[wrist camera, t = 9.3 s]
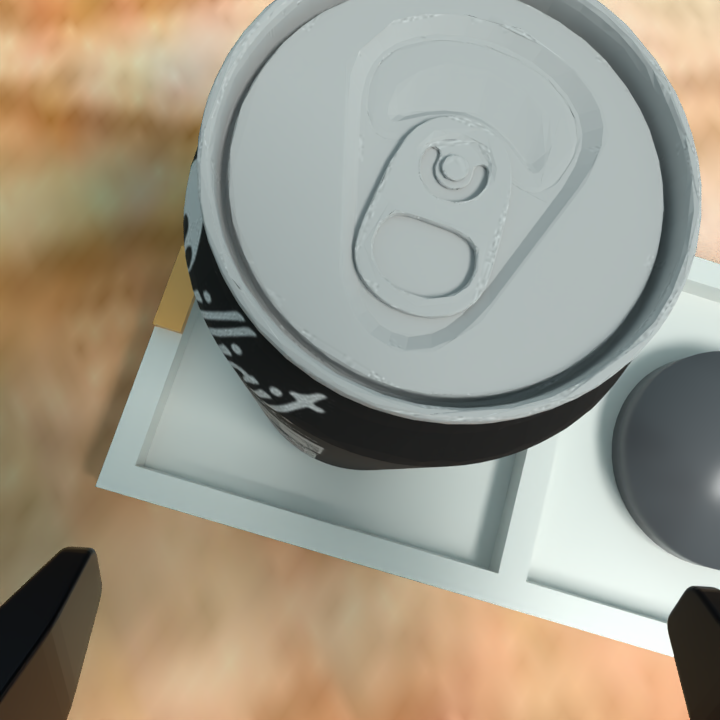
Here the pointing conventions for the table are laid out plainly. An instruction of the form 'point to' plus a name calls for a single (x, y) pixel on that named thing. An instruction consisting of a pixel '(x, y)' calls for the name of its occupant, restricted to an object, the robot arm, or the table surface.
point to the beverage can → (437, 221)
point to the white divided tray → (461, 480)
